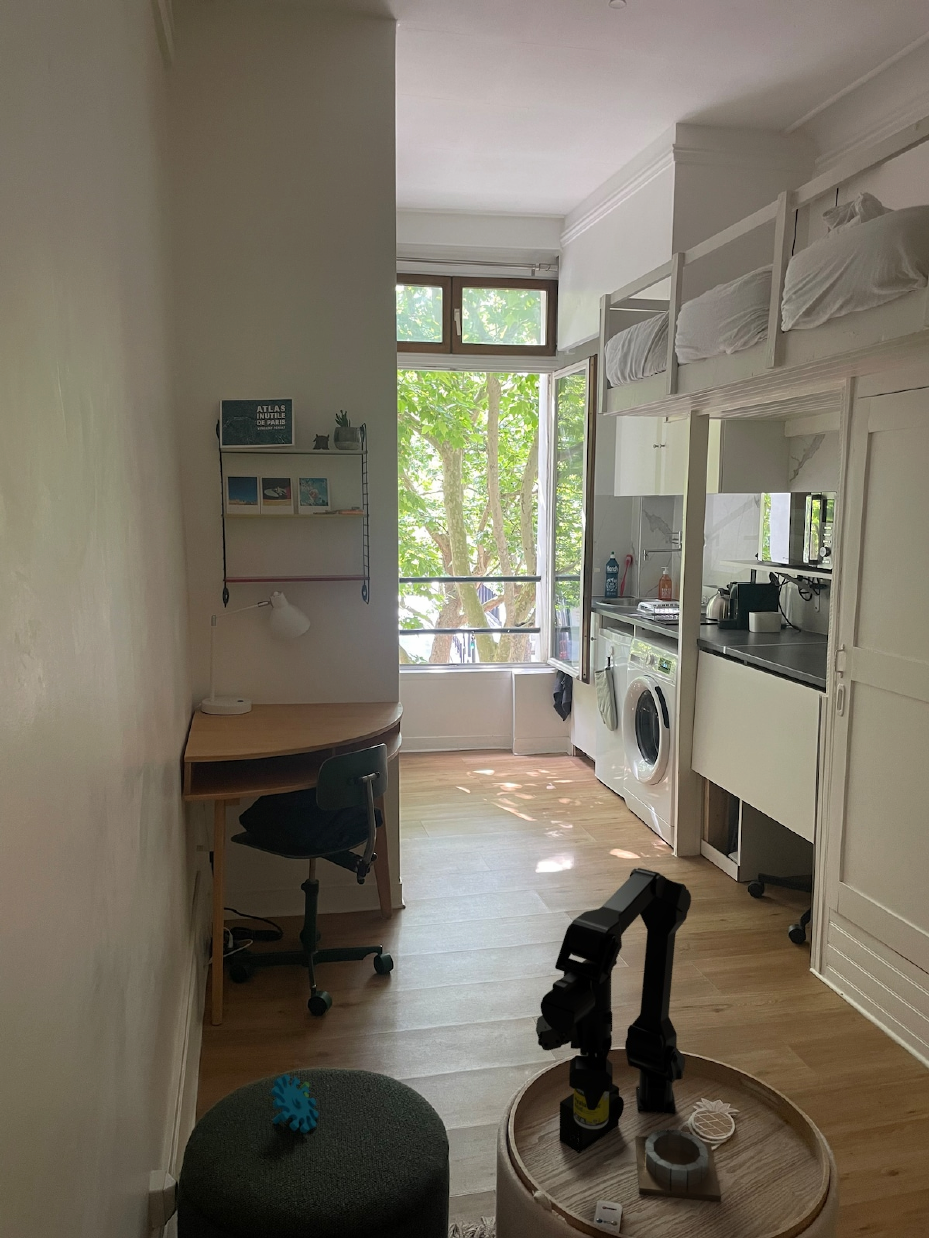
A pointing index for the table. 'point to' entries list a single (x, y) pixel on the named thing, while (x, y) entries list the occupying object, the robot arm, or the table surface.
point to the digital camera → (584, 1135)
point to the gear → (294, 1103)
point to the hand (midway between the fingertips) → (591, 1097)
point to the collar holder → (676, 1166)
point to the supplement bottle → (590, 1117)
